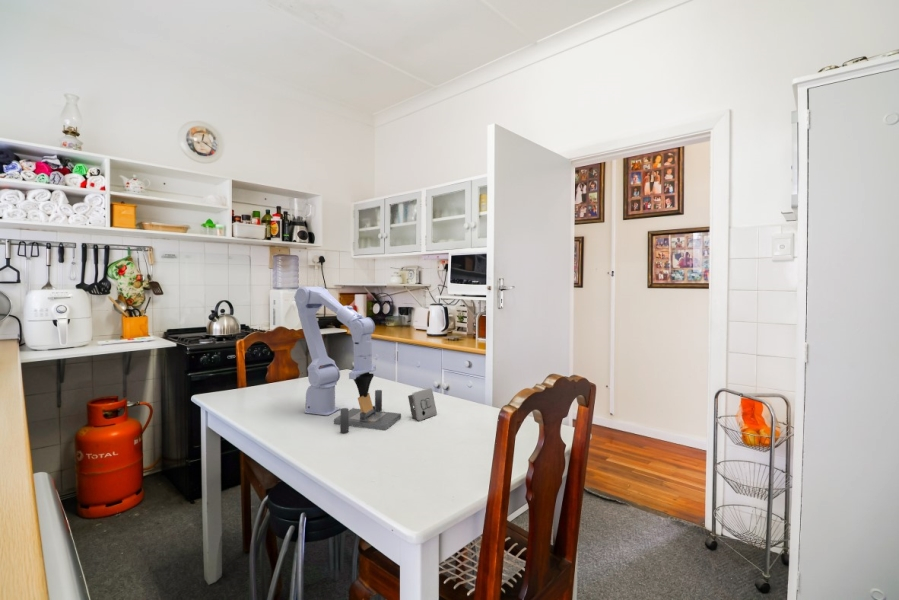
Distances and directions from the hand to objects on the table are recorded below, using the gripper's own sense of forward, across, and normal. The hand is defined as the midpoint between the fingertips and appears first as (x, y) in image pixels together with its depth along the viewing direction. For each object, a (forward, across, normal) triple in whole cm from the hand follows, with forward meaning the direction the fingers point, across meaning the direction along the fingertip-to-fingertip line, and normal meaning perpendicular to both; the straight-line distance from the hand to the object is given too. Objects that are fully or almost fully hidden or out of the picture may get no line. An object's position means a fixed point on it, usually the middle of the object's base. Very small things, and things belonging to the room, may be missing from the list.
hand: (363, 396), depth 142 cm
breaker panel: (+8, 0, -2) cm, 8 cm away
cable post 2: (+8, +12, 0) cm, 14 cm away
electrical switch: (+9, +10, -16) cm, 21 cm away
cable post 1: (+8, -11, 0) cm, 14 cm away
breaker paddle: (+5, 0, -2) cm, 6 cm away
